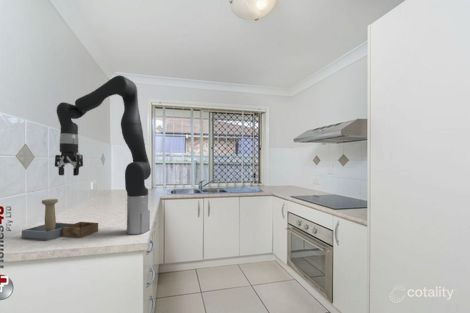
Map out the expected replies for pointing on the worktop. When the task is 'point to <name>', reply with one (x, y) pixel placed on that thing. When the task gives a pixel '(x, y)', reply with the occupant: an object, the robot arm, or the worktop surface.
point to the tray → (43, 232)
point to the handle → (50, 214)
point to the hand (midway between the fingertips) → (68, 175)
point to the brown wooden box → (79, 229)
